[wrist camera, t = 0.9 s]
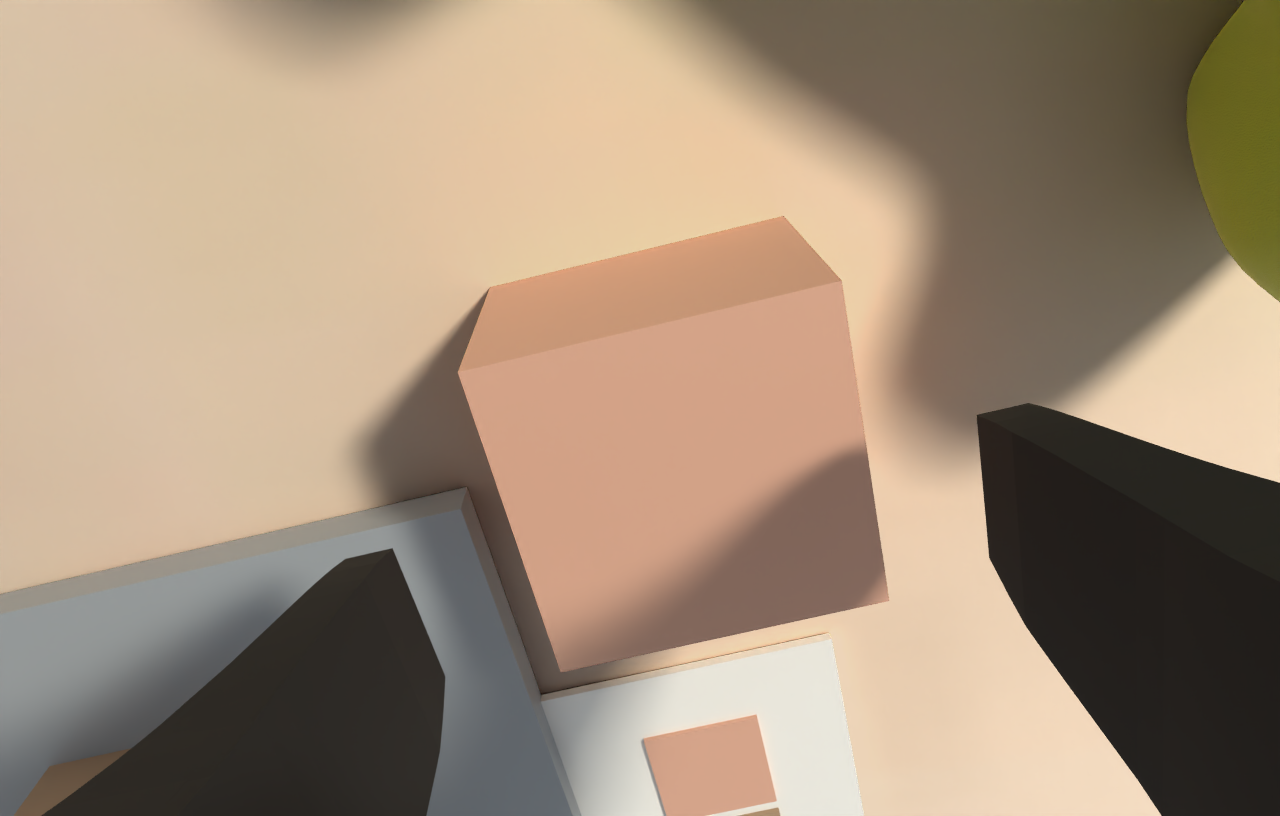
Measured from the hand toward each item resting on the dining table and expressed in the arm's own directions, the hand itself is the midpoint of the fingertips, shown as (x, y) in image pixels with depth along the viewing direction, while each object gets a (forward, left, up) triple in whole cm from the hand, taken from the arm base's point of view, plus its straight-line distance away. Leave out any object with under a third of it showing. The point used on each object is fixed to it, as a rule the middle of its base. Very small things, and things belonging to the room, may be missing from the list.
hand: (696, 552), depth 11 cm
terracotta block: (0, 0, -6) cm, 6 cm away
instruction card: (-10, +1, -5) cm, 11 cm away
